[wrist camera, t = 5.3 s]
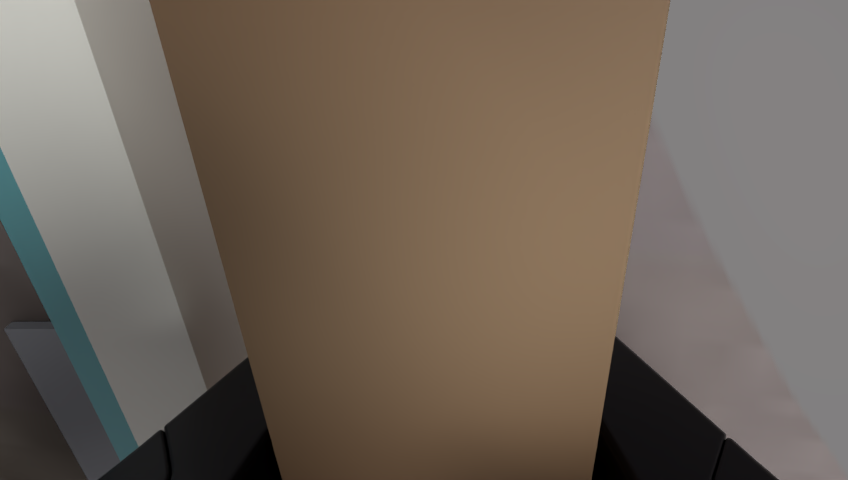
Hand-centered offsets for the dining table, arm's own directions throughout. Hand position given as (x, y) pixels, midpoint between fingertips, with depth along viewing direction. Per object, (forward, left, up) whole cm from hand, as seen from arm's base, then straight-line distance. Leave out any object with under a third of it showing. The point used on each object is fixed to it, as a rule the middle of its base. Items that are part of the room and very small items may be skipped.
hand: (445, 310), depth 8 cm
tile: (0, +5, -8) cm, 9 cm away
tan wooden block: (0, 0, -1) cm, 1 cm away
